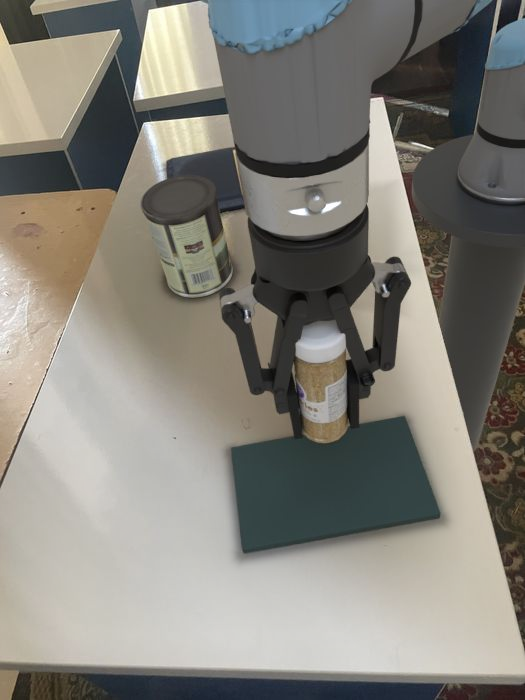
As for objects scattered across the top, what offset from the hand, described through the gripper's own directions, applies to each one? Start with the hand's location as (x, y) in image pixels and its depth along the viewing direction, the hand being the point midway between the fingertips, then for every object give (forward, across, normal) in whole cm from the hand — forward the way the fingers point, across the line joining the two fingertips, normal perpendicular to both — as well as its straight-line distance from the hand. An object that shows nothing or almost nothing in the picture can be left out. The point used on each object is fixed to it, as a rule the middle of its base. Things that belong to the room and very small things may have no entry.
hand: (323, 421), depth 52 cm
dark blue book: (+12, -9, +63) cm, 65 cm away
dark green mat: (+12, 0, 0) cm, 12 cm away
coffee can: (+12, -12, +38) cm, 42 cm away
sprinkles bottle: (+1, 0, 0) cm, 1 cm away
